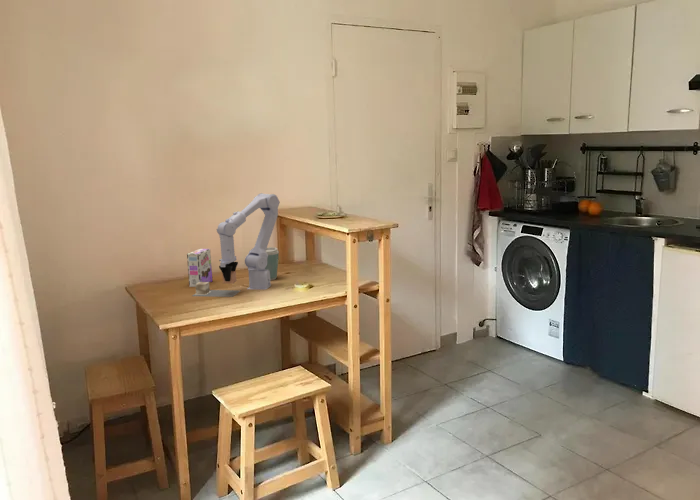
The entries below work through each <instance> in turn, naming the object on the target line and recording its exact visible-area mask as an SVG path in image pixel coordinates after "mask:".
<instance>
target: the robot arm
mask: <svg viewBox="0 0 700 500" xmlns="http://www.w3.org/2000/svg"><path fill="white" fill-rule="evenodd" d="M278 197H279V196H278V195H276V194H274V193H271V194H269V193H262V192H261V193H258V194H257V195H256V196H255V197H253V199H252V200H251V201H250V203H248V204H247V205H246V206H245V207H244V208H243V209H242V210H241V211H239V210H238V211H234V212H232V215H230V217H228V218H226V219H225V221H222V222H220V223H218V225H217V228H216V232H217V234H218V236H219V241H220V242H219V243H220V254H221V258H220V259H219V260H218V261H219V266H218V267H219V270H220V271H221V274H222V273H223V274H222V277H223V276H224V279H225V281H230V279H231V271H236V269H237V267H238V265H239V261H237V256H236V255H235V253H236V252H235V242H234V241H235V240H234V235H235V233H236V231H237V230H238V229H239V228H240V226H242V225H243V224H244V223H245V222H246V220H247V218H248V217H249V216H250V215H251V214H253V213H254V212H256V210H258V209H260V210H261V211H262V213H263V214H264V216H263V217H264V218H263V220H262V224H261V226H260V229H259V233H258V235H257V238H256V241H255V244H254V247H253V248H251V249H249V252H248V253H247V255H246V256H245V257H244V265H245V266H246V267H247V271H248V283H249V285H248V287H247V288H246V290H267V289H269V288H271V286H272V283H271V280H270V271H269V270H266V269H265V267H266V266H267V258H268V254H267V253H266V248H268V246H269V242H270V241H271V240H270V239H271V237H272V234H273V230H274V229H275V228H274V227H275V225H276V222H277V219H278V217H279V216H278V215H279V206H280V200H279V198H278ZM258 255H259V256H258ZM236 272H237V271H236Z"/></svg>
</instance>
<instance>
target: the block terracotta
mask: <svg viewBox="0 0 700 500" xmlns="http://www.w3.org/2000/svg"><path fill="white" fill-rule="evenodd" d="M221 274H222V284H234V283H236V282H237V271H231V279H230V281H225V279H224V276H223V273H222V272H221Z"/></svg>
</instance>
